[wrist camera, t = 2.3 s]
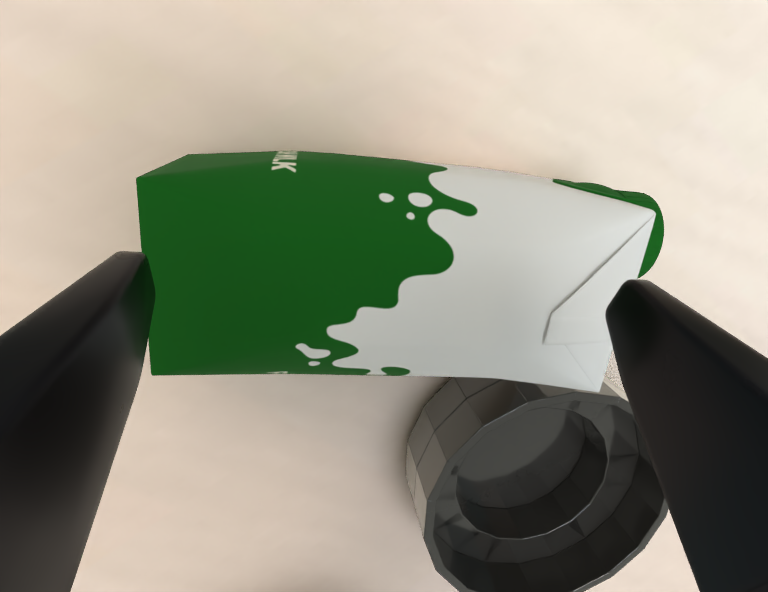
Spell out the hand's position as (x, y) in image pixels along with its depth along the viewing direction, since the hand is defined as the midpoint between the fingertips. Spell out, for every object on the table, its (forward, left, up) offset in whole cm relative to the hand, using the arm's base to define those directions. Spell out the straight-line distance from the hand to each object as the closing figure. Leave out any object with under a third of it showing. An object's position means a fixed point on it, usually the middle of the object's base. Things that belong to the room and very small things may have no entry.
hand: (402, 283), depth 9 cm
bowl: (-14, -14, -16) cm, 25 cm away
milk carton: (-4, +7, -11) cm, 14 cm away
